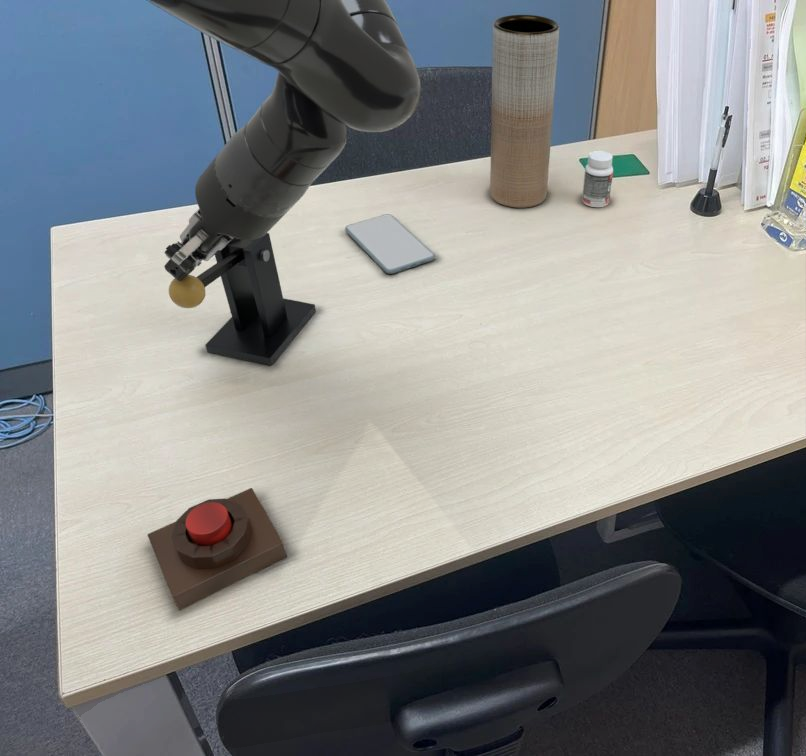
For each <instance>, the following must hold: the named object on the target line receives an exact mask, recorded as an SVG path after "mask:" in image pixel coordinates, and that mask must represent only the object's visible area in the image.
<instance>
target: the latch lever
mask: <svg viewBox="0 0 806 756" xmlns="http://www.w3.org/2000/svg"><path fill="white" fill-rule="evenodd" d="M252 241H253V240H241V239H237V240H236V241H234V242H233V243H231V244H230V245H228V248H229V255H228V256H226V257H225V258H223V259H222V260H221V261H219V262H218V263H217V262H216V263H215V264H213V265H212V266H210V267H209V268H208V269H206V270H205V271H202V272H201V273H200V274H199V275H197V276H194V275H191V274H189V275H188V276H187V277H185V278H184V279H183V280H182V281H179V280H177V279H175V278H173V279H172V280H171V282H170V284H169V286H168V295H169V298H170V300H171V301H172V302H173V303H174V304H175V305H176V306H178V307H180V308H182V309H194V308H197V307H198V306H200V305H201V303H203V302H204V300H205V297H206V287H207V286H209V285H211V284H212V283H213V282H215V281H216V280H218V279H219V278H221V275H223V274H224V273H226V272H227V271H228V270H230V269H231V268H233V267H234V266H235V265H240V266H245V267H247V265H246V261H245V257H244V253H243V249H244V248H246V247H247V246H248V245H249V244H250V243H251V242H252Z"/></svg>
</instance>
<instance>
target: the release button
mask: <svg viewBox="0 0 806 756" xmlns="http://www.w3.org/2000/svg"><path fill="white" fill-rule="evenodd" d="M185 524H186V528H187V530H188V532H189V535H190V537H191V539H192V540H193V541H194V542H195V543H196V544H199V545H203V546H208V545H213V544H216V543H218V542H220V541H222V540H223V539H224V538H225V537H226V536H227V535H228V534H229V532H230V530H231V526H232V523H231V520H230V517H229V515H228V512H227V509H226V508H225V507H224V506H223V505H221V504H219V503H215V502H209V503H204V504H201V505H199V506H197V507H196V508H194V509H193V510H192V511H191V512H190V513H189V514H188V516H187V518H186V523H185Z"/></svg>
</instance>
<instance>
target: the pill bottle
mask: <svg viewBox="0 0 806 756" xmlns="http://www.w3.org/2000/svg"><path fill="white" fill-rule="evenodd" d="M613 158H614V155H613V154H612V153H611V152H609V151H606V150H593V151H592V150H591V152H589V153H588V157H587V164H586V165H585V168H584V175H583V176H584V177H583V186H582V195H581V202H582V203H583V204H584V205H586V206H588V207H592V208H603V207H606V206H608V205H609V203H610V198H611V191H612V184H613V177H614V166H613Z"/></svg>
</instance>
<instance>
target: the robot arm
mask: <svg viewBox="0 0 806 756" xmlns="http://www.w3.org/2000/svg"><path fill="white" fill-rule="evenodd" d="M146 1H147V2H148V3H150V4H152V5H153V6H155V7H157V8H159V10H162V11H163V12H165V13H167V14H169V15H170V16H172V17H174V18H175V19H177V20H178V21H180V22H182V23H184V24H185V25H186V26H187V25H188V26H189V27H191V28H193V29H195V30H196V31H198V32H200V33H202V34H204V35H205V36H207V37H209V38H211V39H213V40H214V41H217V42H219V43H221V44H223V45H225V46H226V47H229V48H230V49H233V50H235V51H237V52H239V53H241V54H243V55H245V56H247V57H249V58H251V59H253V60H255V61H258V62H259V63H261V64H263V65H265V66H268V67H271V68H273V69H274V70H275V71H277V75H276V77H275V82H274V85H273V88H272V90H271V93H270V94H269V95H268V96H267V97H266V99H264V101H263V102H262V104H261V105H260V106H259V108H258V109H257V110H256V111H255V112H254V114H252V117H251V118H250V119H249V120H248V121H247V122H246V123H245V124H244V125H243V126H242V127H240V128H239V129H238V130H237V131H236V132H235V133H233V135H232V136H231V137H230V138H229V140H228V141H227V142H226V143H225V144H224V146H223V147H222V148H221V149H220V151H219V152H218V153H217V154H216V155H215V157H214V158H213V159H212V161H211V162H210V163H209V164H208V165H207V167H205V169H204V171H203V172H202V173H201V174H200V176H199V177H198V179H197V180H196V183H195V188H194V195H195V200H196V204H197V206H198V209H197V210H196V211H195V212H193V214H192V215H191V217H190V218H189V219H188V225H187V226H186V227H185V228H184V230H183V231H182V232H181V233H180V234H179V239H180V241H181V242H180V241H178V240H177V241H176V242H175V243H172V244H169V245H168V246H167V247H165V251H164V254H165V257H167V259H169V260H168V261H167V262H166V263H165V264H164V265H163V266H164V270H165V271H166V272H167V273H168V274H170V276H172V277H173V279H177V280H179V281H182V280H183V279H184V278H185V277H187V276H188V275H191V273H192V272H194V270H195V269H196V267H200V266H201V265H202V261H204V262H208V261H210V260H211V259H212V258H213V257H215V254H216V253H217V252H218V251H219V250H222V249H223V248H224V247H225V246H226V245H228V244H229V243H230V242H231V241H232V239H233V238H237V239H241V240H254V239H258V238H260V237H262V236H264V235H265V234H266V233H269V231H271V230H272V228H273V227H274V226H275V225H277V224H278V222H279V221H281V219H282V218H283V217H284V216H285V215H286V214H287V213H288V212H289V211H290V210H291V209H292V208H293V207H294V206H295V205H296V204H297V203H298V202H299V201H300V200H301V199H302V198H303V197H304V195H305V194H306V193H307V191H308V190H309V188H310V186H311V185H312V184H313V182H314V181H315V180H316V179H317V178H318V177H319V176H320V175H321V174H322V173H323V172H324V171H326V169H327V168H328V167H329V166H330V165H331V164H332V163H333V162H334V161H335V159H336V158H338V156H339V155H340V154H341V153H342V151H343V149H344V148H345V147H346V144H347V140H348V136H349V135H348V132H349V131H348V128H350V129H353V130H356V131H359V132H365V133H383V132H387V131H390V130H393V129H395V128H398V127H399V126H401V125H403V124H404V123H406V121H408V120H409V119H410V118H411V117H412V115H413V114H414V113H415V111H416V109H417V107H418V105H419V102H420V99H421V92H422V87H421V86H422V85H421V77H420V74H419V71H418V68H417V66H416V64H415V60H414V59H413V57H412V55H411V53H410V50H409V48H408V46H407V43H406V41H405V39H404V36H403V34H402V32H401V29H400V27H399V26H398V23H397V21H396V19H395V16H394V14H393V12H392V10H391V8H390V6H389V4H388V2H387V1H386V0H146Z"/></svg>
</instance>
